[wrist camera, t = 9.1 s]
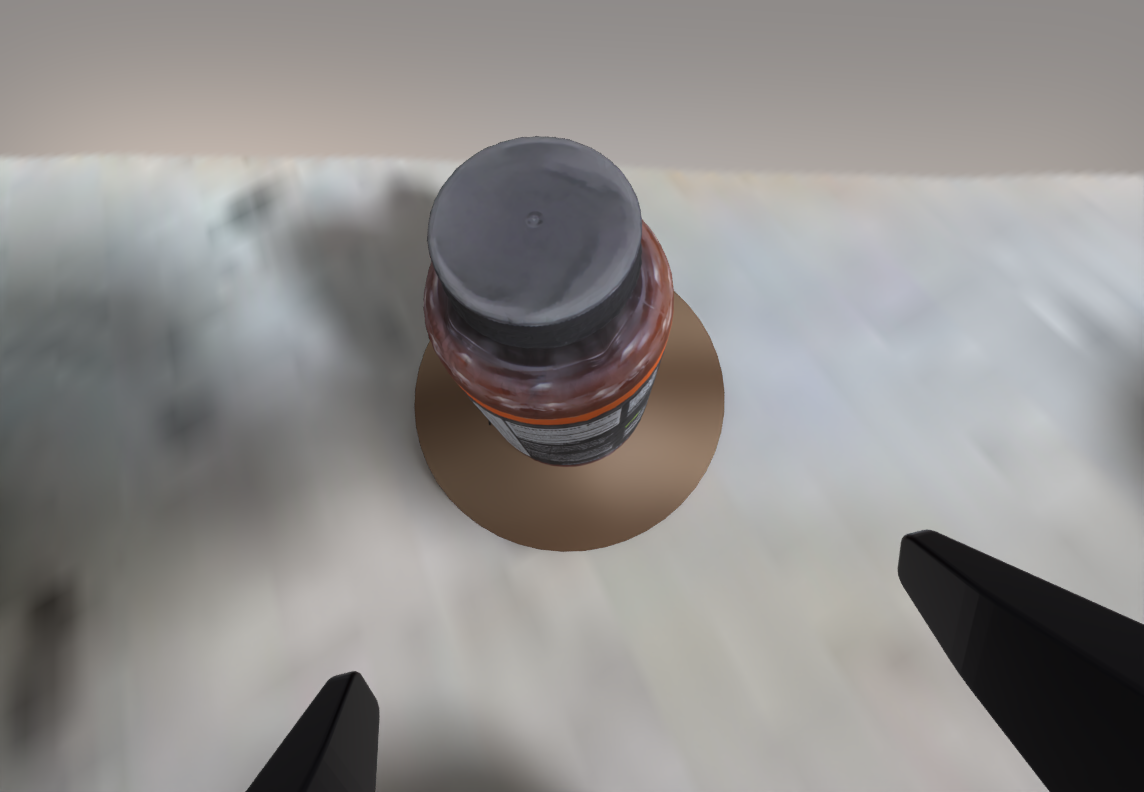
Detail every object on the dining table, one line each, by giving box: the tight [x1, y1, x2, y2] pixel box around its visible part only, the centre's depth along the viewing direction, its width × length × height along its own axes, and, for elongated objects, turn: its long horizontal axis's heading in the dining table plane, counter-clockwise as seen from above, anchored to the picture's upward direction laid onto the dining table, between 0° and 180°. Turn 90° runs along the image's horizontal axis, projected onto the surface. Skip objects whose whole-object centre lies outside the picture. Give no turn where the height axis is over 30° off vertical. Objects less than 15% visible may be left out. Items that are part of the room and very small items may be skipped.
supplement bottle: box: [424, 136, 674, 467], centre depth 15 cm, size 6×6×11 cm
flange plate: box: [415, 291, 724, 552], centre depth 18 cm, size 12×12×7 cm
